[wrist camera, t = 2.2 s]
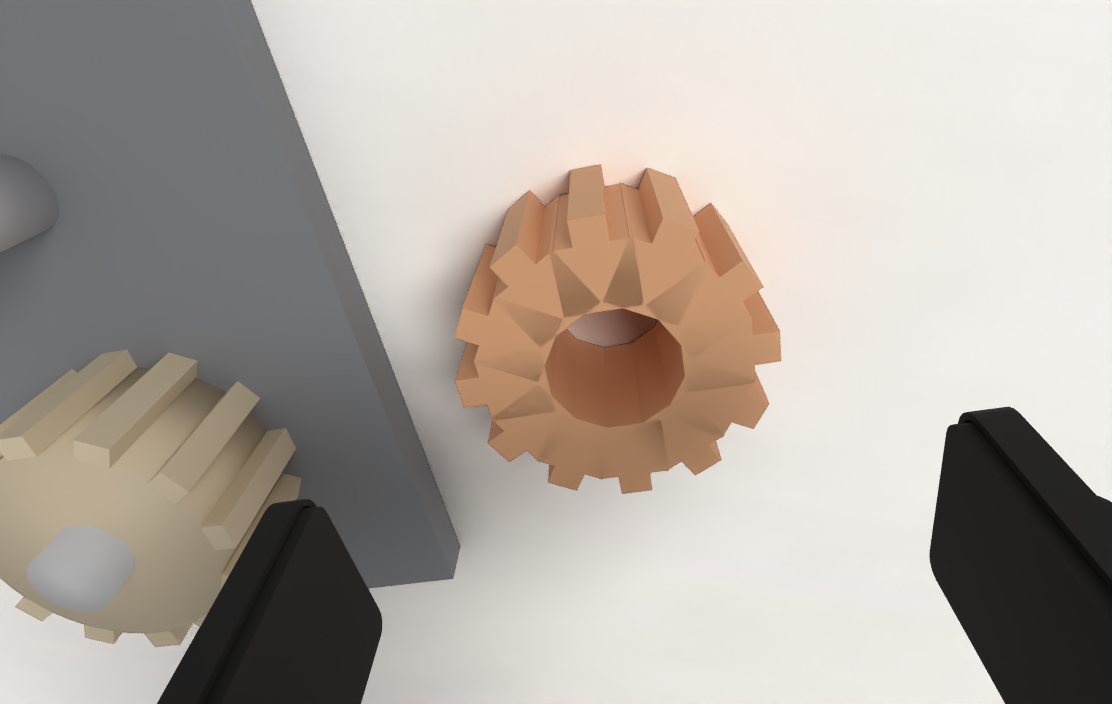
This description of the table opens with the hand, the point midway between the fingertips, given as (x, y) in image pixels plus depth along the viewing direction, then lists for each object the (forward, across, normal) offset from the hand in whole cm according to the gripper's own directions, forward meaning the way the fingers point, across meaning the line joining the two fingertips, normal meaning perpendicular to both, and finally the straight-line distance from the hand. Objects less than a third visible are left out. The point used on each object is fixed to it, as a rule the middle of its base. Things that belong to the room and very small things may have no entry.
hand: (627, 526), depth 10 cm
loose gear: (+10, 0, +1) cm, 10 cm away
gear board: (+10, +14, -1) cm, 17 cm away
